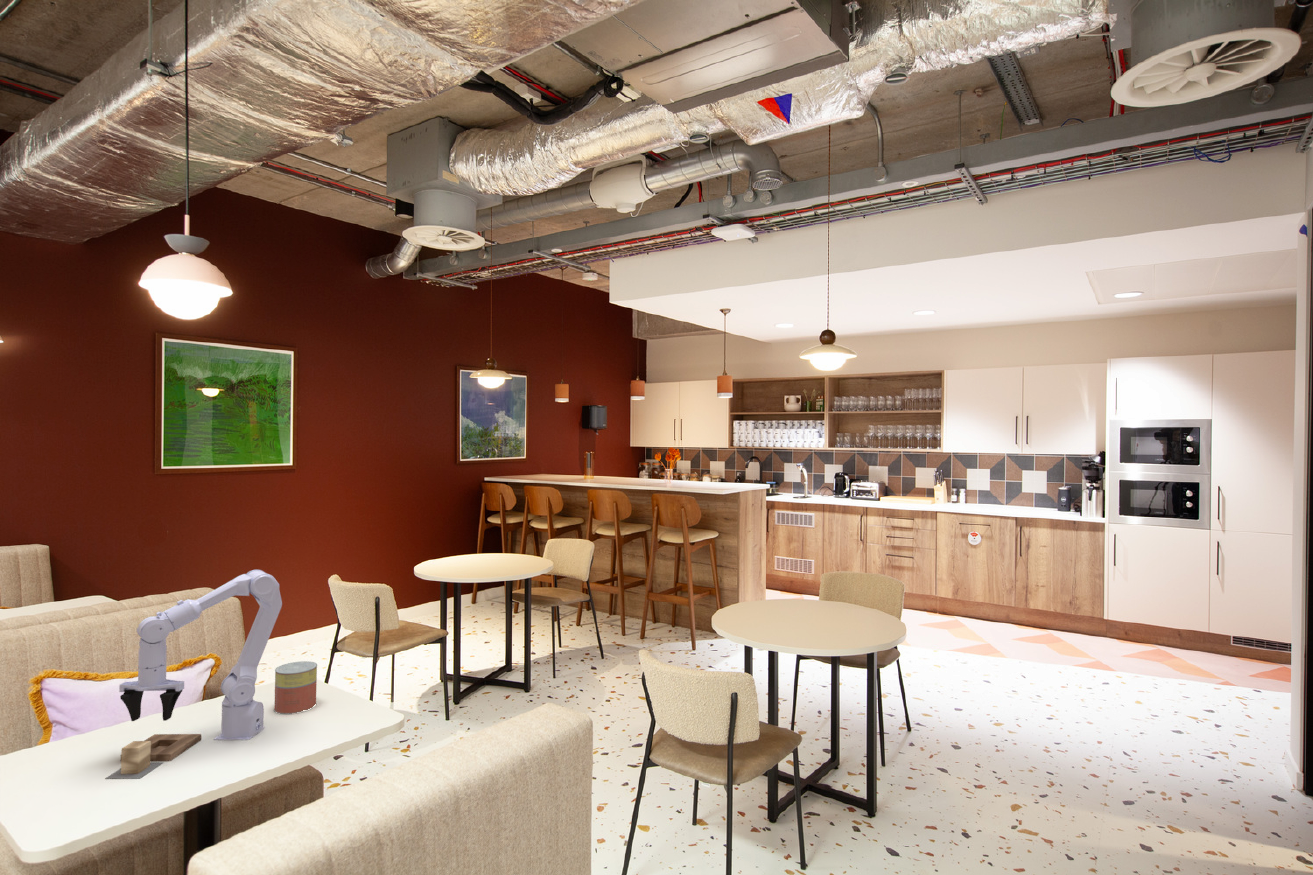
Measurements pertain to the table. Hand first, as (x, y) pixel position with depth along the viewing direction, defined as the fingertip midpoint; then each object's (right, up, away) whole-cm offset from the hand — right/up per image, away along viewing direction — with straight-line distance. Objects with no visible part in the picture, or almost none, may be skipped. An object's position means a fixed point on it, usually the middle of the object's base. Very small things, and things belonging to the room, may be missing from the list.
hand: (151, 719), depth 170 cm
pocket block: (+1, -9, +3) cm, 10 cm away
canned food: (+19, -10, +33) cm, 40 cm away
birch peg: (+2, -9, -8) cm, 12 cm away
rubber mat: (+2, -9, -8) cm, 13 cm away
